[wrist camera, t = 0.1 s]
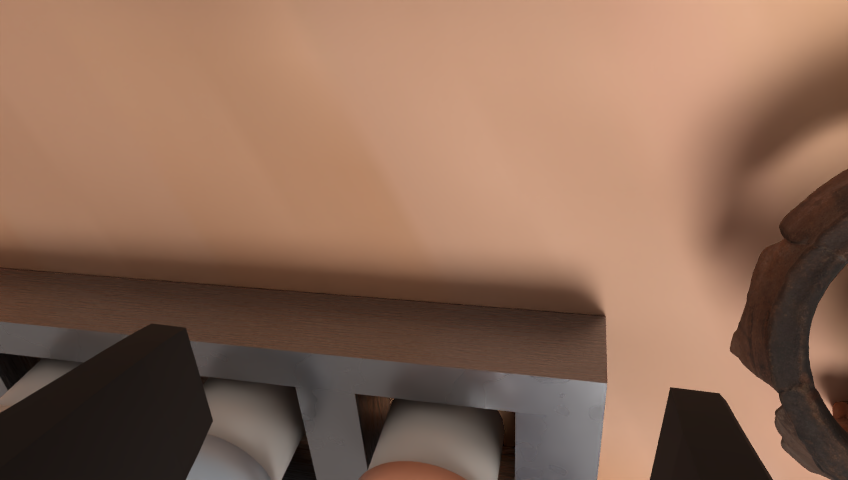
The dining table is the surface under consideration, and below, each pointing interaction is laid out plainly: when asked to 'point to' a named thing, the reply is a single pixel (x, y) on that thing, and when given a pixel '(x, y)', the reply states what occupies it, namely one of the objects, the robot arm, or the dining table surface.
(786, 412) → the brown bird figurine
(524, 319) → the panel
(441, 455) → the peach ball
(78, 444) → the robot arm
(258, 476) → the slate button
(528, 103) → the dining table surface
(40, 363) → the cream button
